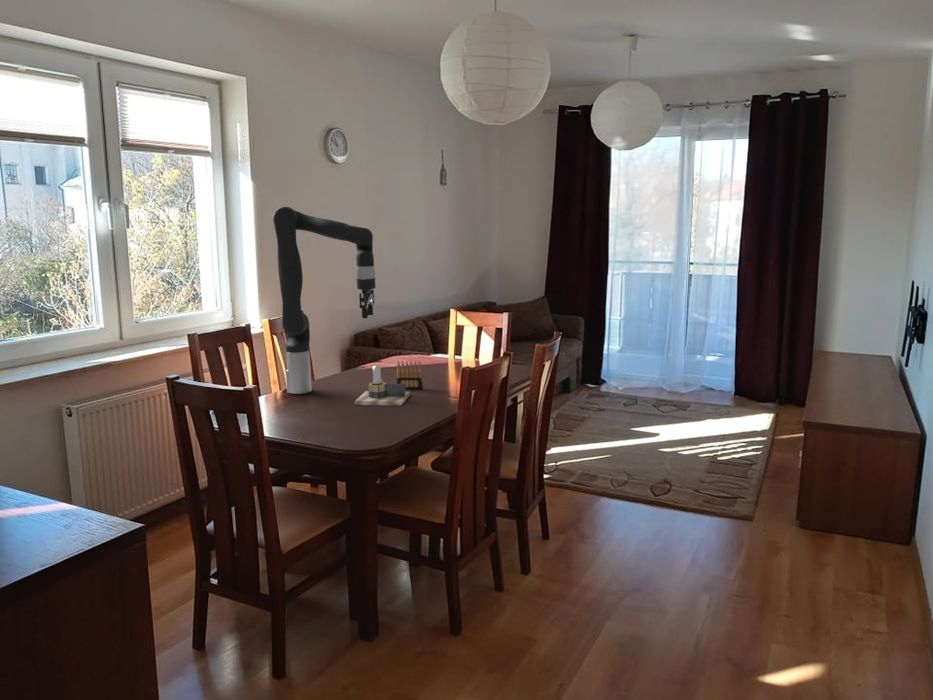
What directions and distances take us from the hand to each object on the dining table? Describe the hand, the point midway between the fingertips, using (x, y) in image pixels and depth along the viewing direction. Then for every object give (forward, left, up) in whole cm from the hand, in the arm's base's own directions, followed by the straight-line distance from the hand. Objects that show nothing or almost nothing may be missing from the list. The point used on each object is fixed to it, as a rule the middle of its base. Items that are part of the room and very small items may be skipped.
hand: (367, 316), depth 302 cm
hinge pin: (+8, -20, -29) cm, 36 cm away
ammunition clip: (+17, -2, -30) cm, 35 cm away
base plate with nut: (+10, -20, -30) cm, 37 cm away
